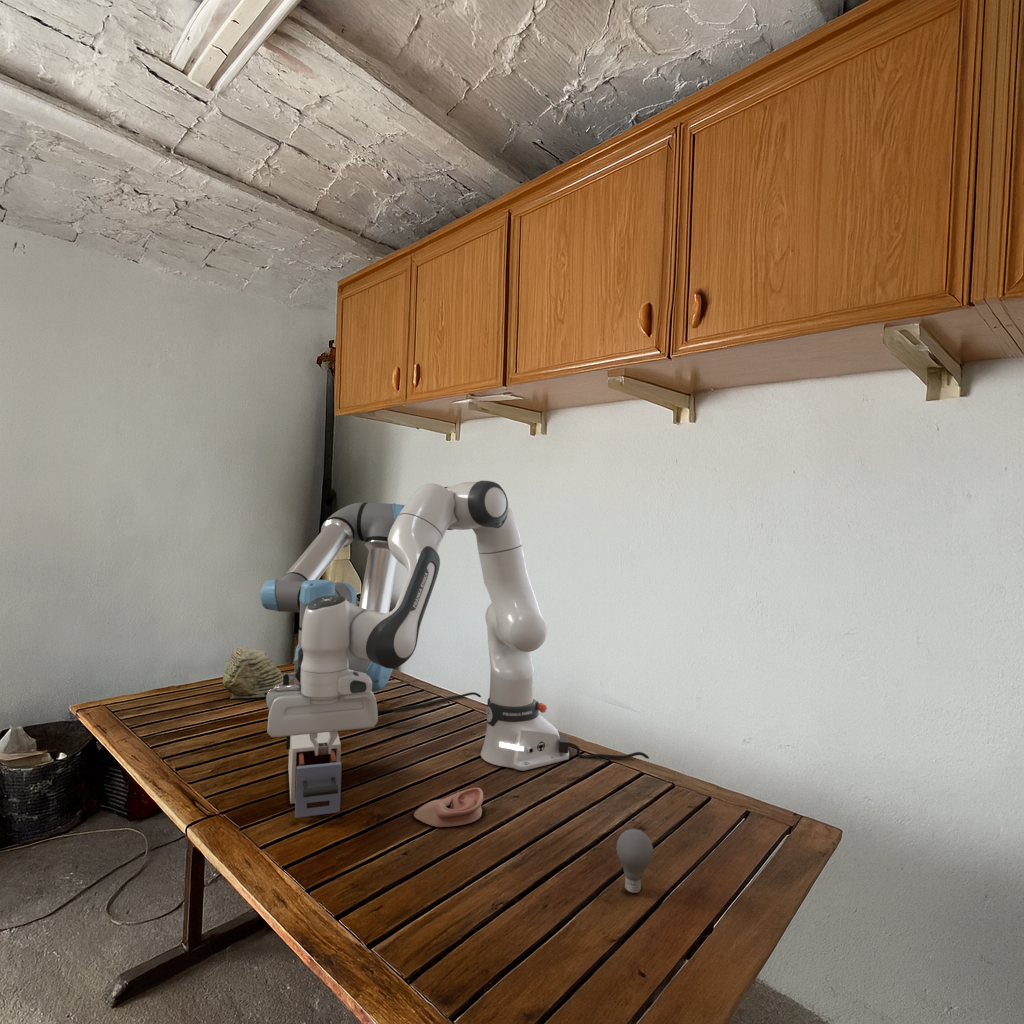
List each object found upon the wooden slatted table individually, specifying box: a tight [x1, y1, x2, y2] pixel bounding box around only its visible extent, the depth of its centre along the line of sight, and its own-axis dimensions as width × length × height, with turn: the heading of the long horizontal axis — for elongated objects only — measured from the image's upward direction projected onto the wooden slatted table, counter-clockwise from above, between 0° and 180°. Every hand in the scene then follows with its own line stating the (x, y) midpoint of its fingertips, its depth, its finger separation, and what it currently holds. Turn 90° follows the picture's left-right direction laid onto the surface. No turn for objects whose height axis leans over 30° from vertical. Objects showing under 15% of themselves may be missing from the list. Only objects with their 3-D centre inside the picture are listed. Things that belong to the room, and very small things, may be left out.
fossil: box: [222, 646, 283, 699], centre depth 198 cm, size 9×18×15 cm, turn 132°
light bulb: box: [615, 828, 654, 894], centre depth 106 cm, size 6×6×10 cm
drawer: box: [294, 749, 343, 819], centre depth 130 cm, size 23×8×10 cm, turn 21°
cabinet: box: [287, 732, 342, 805], centre depth 140 cm, size 18×10×11 cm, turn 21°
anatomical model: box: [413, 787, 484, 828], centre depth 129 cm, size 13×4×12 cm
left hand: (311, 745), depth 145 cm, fingers closed on cabinet, 10 cm apart
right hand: (322, 753), depth 121 cm, fingers closed
